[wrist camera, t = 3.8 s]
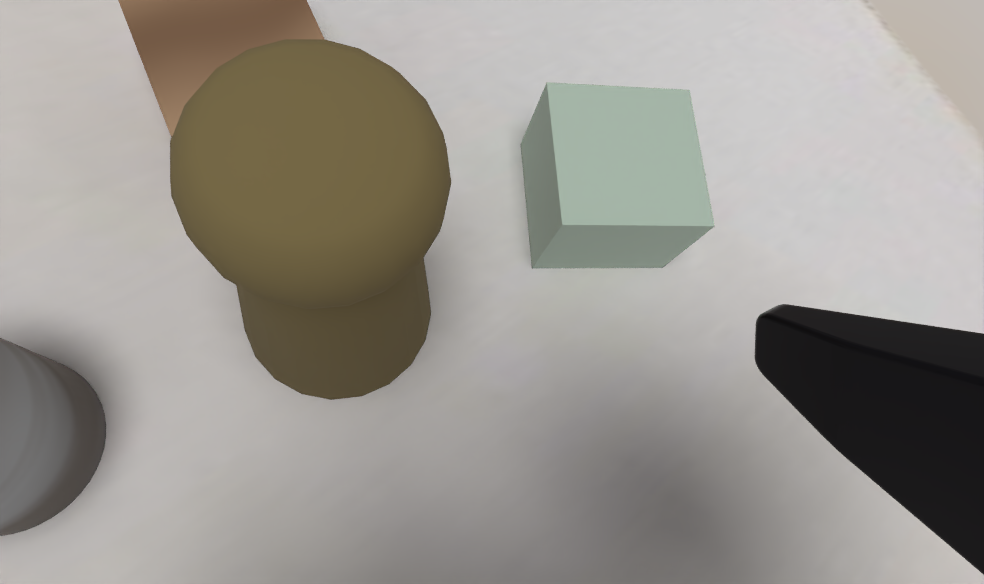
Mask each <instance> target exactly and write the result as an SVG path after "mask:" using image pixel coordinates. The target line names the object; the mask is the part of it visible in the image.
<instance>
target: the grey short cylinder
mask: <svg viewBox="0 0 984 584" xmlns="http://www.w3.org/2000/svg"><path fill="white" fill-rule="evenodd" d="M105 438H106V422H105V415H104V411H103V408H102V404H101V402H100V400H99V398H98V396H97V394H96V393H95V391H94V390H93V388H92V387H91V385H90V384H89V383H88V382H87V381H86V380H85V379H84V378H83V377H82V376H80V375H79V374H78V373H76V372H75V371H73V370H72V369H70V368H68V367H66V366H64V365H62V364H60V363H57V362H55V361H53V360H50V359H48V358H46V357H43V356H41V355H39V354H36V353H34V352H32V351H29V350H27V349H25V348H22V347H20V346H18V345H15V344H13V343H11V342H8V341H6V340H4V339H1V338H0V536H3V535H9V534H14V533H17V532H21V531H25V530H27V529H30V528H32V527H35V526H37V525H39V524H41V523H43V522H45V521H47V520H49V519H51V518H52V517H53V516H55V515H56V514H58V513H59V512H61V511H62V510H63V509H65V508H66V507H67V506H68V505H69V504H70V503H72V502H73V501H74V500H75V499H76V497H77V496H78V495H79V494H80V493H81V492H82V491H83V489H84V488H85V487H86V485H87V484H88V483H89V481H90V480H91V478H92V476H93V475H94V473H95V471H96V469H97V467H98V465H99V462H100V460H101V457H102V453H103V450H104V445H105Z"/></svg>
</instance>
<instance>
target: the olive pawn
mask: <svg viewBox="0 0 984 584" xmlns="http://www.w3.org/2000/svg"><path fill="white" fill-rule="evenodd" d="M170 182H171V196H172V199H173V201H174V204H175V206H176V209H177V211H178V214H179V216H180V219H181V221H182V224H183V226H184V229H185V231H186V234H187V236H188V237H189V238H190V240H191V241H192V242H193V244H194V245H195V246H196V247H197V248H198V250H199V251H200V252H201V253H202V254H203V255H204V256H205V257H206V258H207V260H208V261H209V262H210V263H211V264H212V265H213V266H214V267H215V268H216V270H217V271H218V272H219V273H220V274H221V275H222V276H223V277H224V278H225V279H227V280H229V281H231V282H233V283H234V284H236V285H237V291H238V296H239V301H240V307H241V312H242V317H243V323H244V328H245V332H246V334H247V337H248V339H249V342H250V344H251V347H252V349H253V352H254V354H255V357H256V358H257V359H258V360H259V361H260V362H261V364H262V365H263V366H264V367H265V368H266V369H267V370H268V371H269V373H270V374H271V375H272V376H273V377H274V378H275V379H276V380H278V381H280V382H281V383H283V384H285V385H287V386H289V387H290V388H292V389H294V390H296V391H297V392H299V393H301V394H305V395H310V396H316V397H321V398H326V399H331V400H332V399H341V398H350V397H358V396H363V395H365V394H368V393H370V392H372V391H374V390H377V389H379V388H381V387H383V386H386V385H388V384H390V383H391V382H392V381H393V380H394V379H395V378H396V377H398V376H399V375H400V374H401V373H402V372H403V371H404V370H405V369H407V368H408V367H409V366H410V365H411V364H412V362H413V360H414V359H415V357H416V355H417V354H418V352H419V350H420V348H421V347H422V345H423V343H424V342H425V339H426V335H427V330H428V325H429V320H430V316H431V310H430V301H429V293H428V285H427V279H426V272H425V266H424V259H423V257H424V256H425V254H426V252H427V251H428V249H429V248H430V246H431V244H432V243H433V241H434V240H435V238H436V236H437V235H438V233H439V232H440V229H441V226H442V222H443V219H444V214H445V209H446V205H447V200H448V195H449V191H450V186H451V177H450V170H449V163H448V155H447V148H446V143H445V139H444V135H443V132H442V130H441V128H440V126H439V124H438V122H437V120H436V118H435V116H434V115H433V113H432V111H431V109H430V107H429V105H428V103H427V101H426V99H425V98H424V97H423V96H422V95H421V94H420V93H419V92H418V91H417V90H416V89H415V88H414V87H413V86H412V85H411V84H410V83H409V82H408V81H407V80H406V79H405V78H404V77H403V76H402V75H401V74H400V73H399V72H397V71H396V70H395V69H394V68H392V67H391V66H389V65H387V64H386V63H384V62H382V61H380V60H379V59H377V58H375V57H373V56H371V55H370V54H368V53H366V52H364V51H363V50H361V49H358V48H355V47H351V46H347V45H343V44H339V43H335V42H331V41H328V40H324V39H285V40H281V41H277V42H273V43H270V44H266V45H262V46H258V47H255V48H251V49H248V50H246V51H244V52H243V53H241V54H239V55H238V56H236V57H234V58H233V59H231V60H229V61H228V62H226V63H224V64H223V65H221V66H219V67H218V68H216V69H215V70H214V72H213V73H212V74H211V75H210V76H209V77H208V78H207V80H206V81H205V82H204V83H203V84H202V85H201V86H200V88H199V89H198V90H197V91H196V92H195V93H194V94H193V96H192V97H191V98H190V99H189V100H188V102H187V103H186V104H185V105H184V108H183V110H182V113H181V115H180V118H179V121H178V123H177V126H176V128H175V131H174V133H173V136H172V138H171V141H170Z"/></svg>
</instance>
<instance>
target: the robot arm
mask: <svg viewBox="0 0 984 584" xmlns="http://www.w3.org/2000/svg"><path fill="white" fill-rule="evenodd" d="M755 361H756V364H757V367H758V369H759V370H760V372H761V373H762V374H763V375H764V376H765V377H766V378H767V379H768V380H769V381H770V382H771V383H772V385H773V386H774V387H775V388H776V389H777V390H778V391H779V392H780V393H781V394H782V395H783V396H784V397H785V398H786V399H787V400H788V401H789V402H790V403H791V404H792V405H793V406H794V407H795V408H796V409H797V410H798V411H799V412H800V413H801V414H802V415H803V416H804V417H805V418H806V419H807V420H808V421H809V422H810V423H811V424H812V425H813V426H814V428H815V429H816V430H817V431H818V432H819V433H820V434H821V435H822V436H823V437H824V438H825V439H826V440H827V441H828V442H830V443H831V444H832V445H833V446H834V447H835V448H836V449H837V450H838V451H839V452H840V453H841V454H843V455H844V456H845V457H846V458H847V459H848V460H849V461H850V462H852V463H853V464H854V465H855V466H856V467H858V468H859V469H860V470H861V471H862V472H863V473H865V474H866V475H867V476H868V477H869V478H871V479H872V480H873V481H874V482H875V483H876V484H878V485H879V486H880V487H881V488H882V489H883V490H885V491H886V492H887V493H888V494H889V495H891V496H892V497H893V498H894V499H895V500H896V501H898V502H899V503H900V504H901V505H902V506H903V507H905V508H906V509H907V510H908V511H909V512H911V513H912V514H913V515H914V516H915V517H916V518H918V519H919V520H920V521H921V522H922V523H924V524H925V525H926V526H927V527H928V528H929V529H931V530H932V531H933V532H934V533H935V534H936V535H938V536H939V537H940V538H941V539H942V540H944V541H945V542H946V543H947V544H948V545H949V546H951V547H952V548H953V549H954V550H955V551H956V552H958V553H959V554H960V555H961V556H962V557H964V558H965V559H966V560H967V561H968V562H969V563H971V564H972V565H973V566H974V567H975V568H976V569H978V570H979V571H980V572H981V573H982V574H984V334H982V333H975V332H968V331H962V330H955V329H948V328H942V327H935V326H928V325H921V324H915V323H908V322H901V321H895V320H888V319H881V318H874V317H868V316H861V315H854V314H848V313H841V312H834V311H828V310H821V309H814V308H807V307H801V306H794V305H787V304H782V305H778V306H776V307H774V308H772V309H770V310H768V311H766V312H764V313H762V314H761V315H760V316H759V317H758V319H757V321H756V333H755Z"/></svg>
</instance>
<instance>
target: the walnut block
mask: <svg viewBox="0 0 984 584" xmlns="http://www.w3.org/2000/svg"><path fill="white" fill-rule="evenodd" d="M118 1H119V3H120V6H121V8H122V11H123V14H124V16H125V19H126V21H127V24H128V26H129V29H130V32H131V34H132V37H133V39H134V42H135V44H136V47H137V50H138V52H139V55H140V57H141V60H142V62H143V65H144V68H145V70H146V73H147V75H148V78H149V81H150V83H151V86H152V88H153V91H154V93H155V96H156V99H157V101H158V104H159V106H160V109H161V111H162V114H163V117H164V119H165V122H166V124H167V127H168V129H169V132H170V135H171V137H172V136H173V133H174V131H175V128H176V126H177V123H178V121H179V118H180V115H181V113H182V110H183V108H184V105H185V104H186V103H187V102H188V100H189V99H190V98H191V97H192V96H193V94H194V93H195V92H196V91H197V90H198V89H199V88H200V86H201V85H202V84H203V83H204V82H205V81H206V80H207V78H208V77H209V76H210V75H211V74H212V73H213V72H214V70H215V69H216V68H218V67H219V66H221V65H223V64H224V63H226V62H228V61H229V60H231V59H233V58H234V57H236V56H238V55H239V54H241V53H243V52H244V51H246V50H248V49H251V48H255V47H258V46H262V45H266V44H270V43H273V42H277V41H281V40H285V39H324V37H323V35H322V33H321V31H320V28H319V26H318V24H317V22H316V20H315V18H314V16H313V13H312V11H311V9H310V7H309V5H308V3H307V0H118ZM324 40H325V39H324Z"/></svg>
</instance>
